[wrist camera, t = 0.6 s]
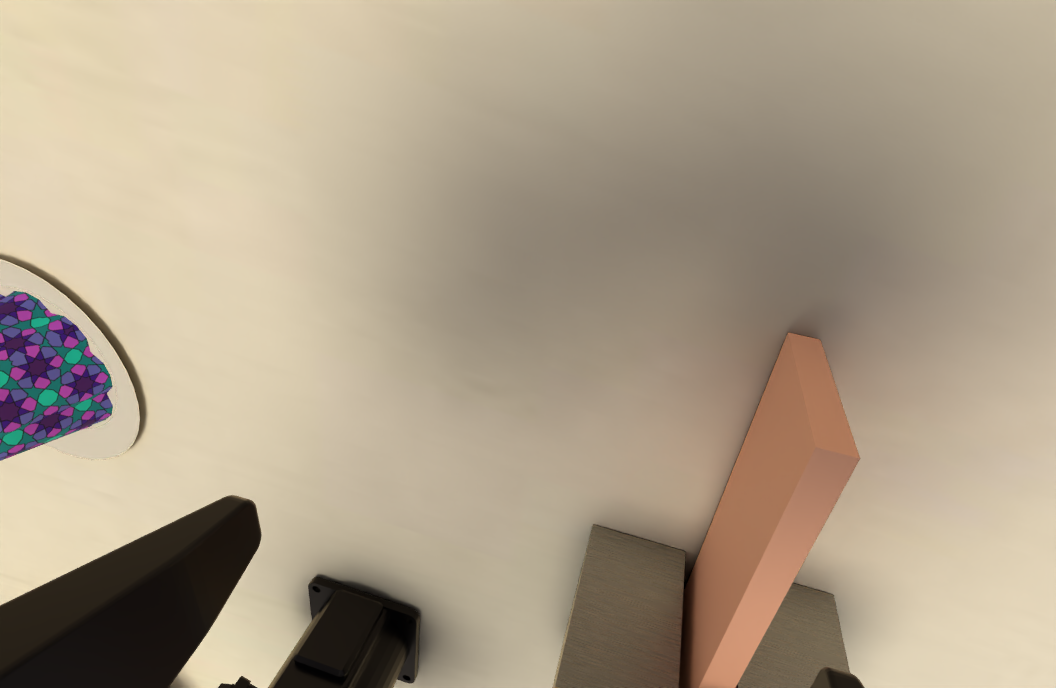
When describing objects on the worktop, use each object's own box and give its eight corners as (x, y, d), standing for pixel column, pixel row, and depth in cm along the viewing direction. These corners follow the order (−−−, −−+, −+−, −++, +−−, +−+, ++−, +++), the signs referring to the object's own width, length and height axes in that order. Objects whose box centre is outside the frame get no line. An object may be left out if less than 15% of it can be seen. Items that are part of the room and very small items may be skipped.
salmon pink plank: (678, 662, 28) (671, 804, 23) (658, 655, 28) (646, 795, 23) (820, 339, 19) (860, 458, 14) (788, 332, 19) (815, 447, 14)
